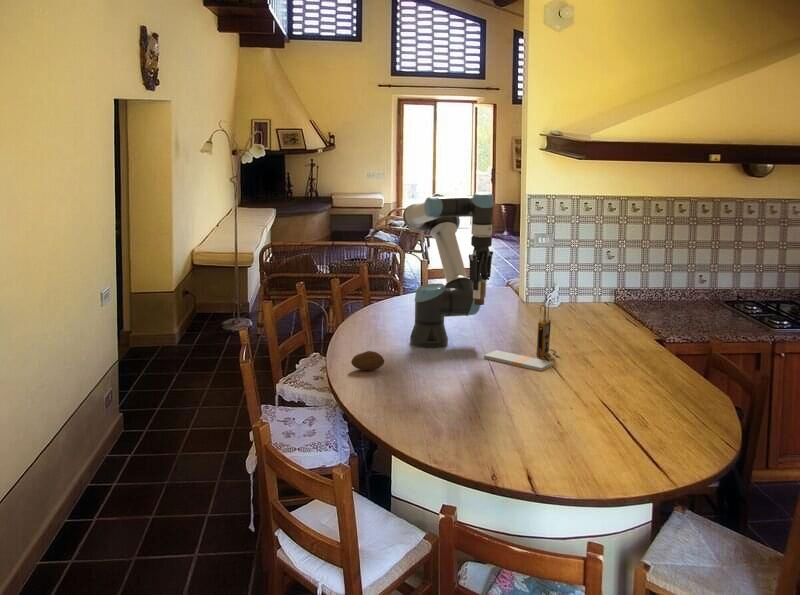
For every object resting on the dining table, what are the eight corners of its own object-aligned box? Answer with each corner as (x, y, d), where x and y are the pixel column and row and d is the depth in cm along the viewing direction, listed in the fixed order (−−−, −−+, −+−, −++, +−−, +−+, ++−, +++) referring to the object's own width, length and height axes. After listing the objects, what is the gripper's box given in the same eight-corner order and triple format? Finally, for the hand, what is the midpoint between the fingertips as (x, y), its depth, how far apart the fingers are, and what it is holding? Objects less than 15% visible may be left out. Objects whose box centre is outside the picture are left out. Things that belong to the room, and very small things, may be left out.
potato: (350, 368, 275) (350, 349, 274) (381, 366, 277) (382, 347, 276) (352, 373, 269) (352, 354, 267) (385, 372, 271) (385, 353, 269)
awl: (472, 304, 291) (473, 275, 288) (477, 302, 293) (478, 274, 291) (480, 305, 288) (481, 276, 286) (485, 303, 291) (486, 275, 289)
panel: (483, 358, 289) (483, 355, 289) (496, 353, 296) (496, 350, 296) (541, 371, 275) (541, 367, 274) (553, 365, 282) (553, 362, 281)
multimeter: (559, 362, 285) (562, 309, 281) (533, 358, 290) (535, 306, 286) (570, 352, 298) (573, 302, 294) (545, 349, 303) (547, 299, 298)
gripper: (478, 238, 277) (475, 302, 282) (502, 234, 289) (499, 295, 294) (460, 236, 281) (458, 299, 286) (484, 232, 294) (482, 292, 299)
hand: (479, 297), depth 290 cm, fingers closed on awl, 3 cm apart
